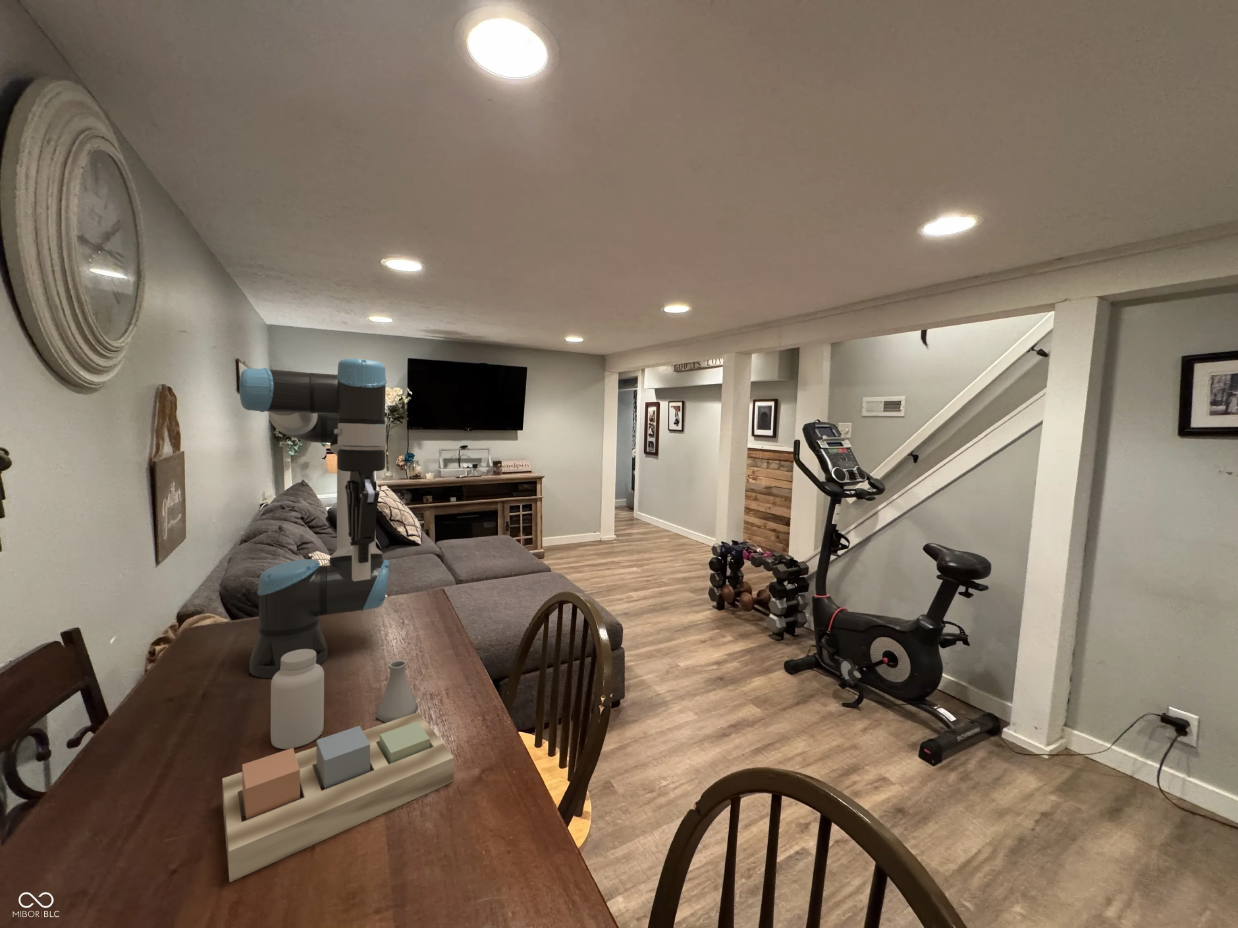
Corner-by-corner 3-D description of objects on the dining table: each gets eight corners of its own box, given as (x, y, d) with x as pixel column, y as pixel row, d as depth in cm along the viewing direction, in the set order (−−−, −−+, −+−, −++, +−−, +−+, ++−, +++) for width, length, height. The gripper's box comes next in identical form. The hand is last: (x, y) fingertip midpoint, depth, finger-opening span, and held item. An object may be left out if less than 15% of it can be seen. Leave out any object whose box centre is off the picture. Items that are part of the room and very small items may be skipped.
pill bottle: (334, 728, 90) (334, 649, 89) (292, 755, 83) (292, 669, 82) (302, 719, 93) (302, 642, 92) (259, 744, 85) (259, 660, 84)
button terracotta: (242, 793, 69) (242, 764, 69) (293, 774, 73) (293, 747, 73) (246, 819, 64) (245, 788, 64) (300, 798, 68) (299, 769, 68)
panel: (222, 804, 72) (222, 778, 71) (418, 732, 90) (418, 711, 90) (229, 882, 60) (228, 851, 59) (453, 781, 78) (454, 757, 78)
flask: (401, 726, 92) (402, 674, 91) (368, 720, 93) (368, 669, 93) (424, 705, 99) (425, 657, 98) (392, 700, 100) (393, 653, 100)
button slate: (316, 766, 75) (316, 739, 75) (359, 750, 79) (359, 725, 79) (324, 788, 70) (324, 760, 70) (370, 770, 74) (370, 744, 74)
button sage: (379, 758, 81) (379, 734, 81) (416, 744, 85) (417, 721, 85) (390, 778, 76) (391, 752, 76) (429, 762, 80) (429, 738, 80)
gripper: (329, 446, 89) (329, 573, 91) (347, 449, 79) (346, 592, 81) (374, 446, 94) (373, 567, 96) (395, 450, 84) (394, 584, 86)
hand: (361, 578), depth 88 cm, fingers closed
